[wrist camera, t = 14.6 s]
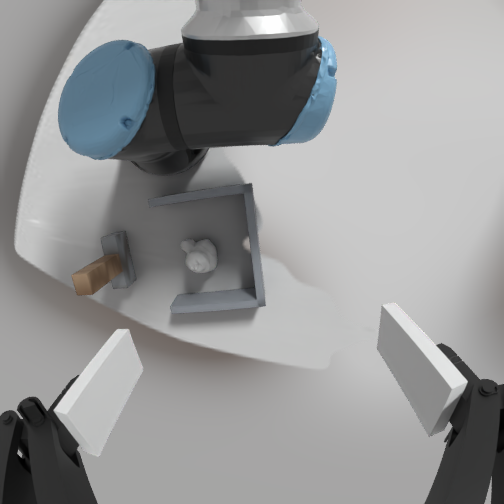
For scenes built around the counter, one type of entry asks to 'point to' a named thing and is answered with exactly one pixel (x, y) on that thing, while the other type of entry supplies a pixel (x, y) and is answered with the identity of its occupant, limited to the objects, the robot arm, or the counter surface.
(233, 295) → the box
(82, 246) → the counter surface
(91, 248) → the counter surface
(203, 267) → the rubber duck
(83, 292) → the scraper
